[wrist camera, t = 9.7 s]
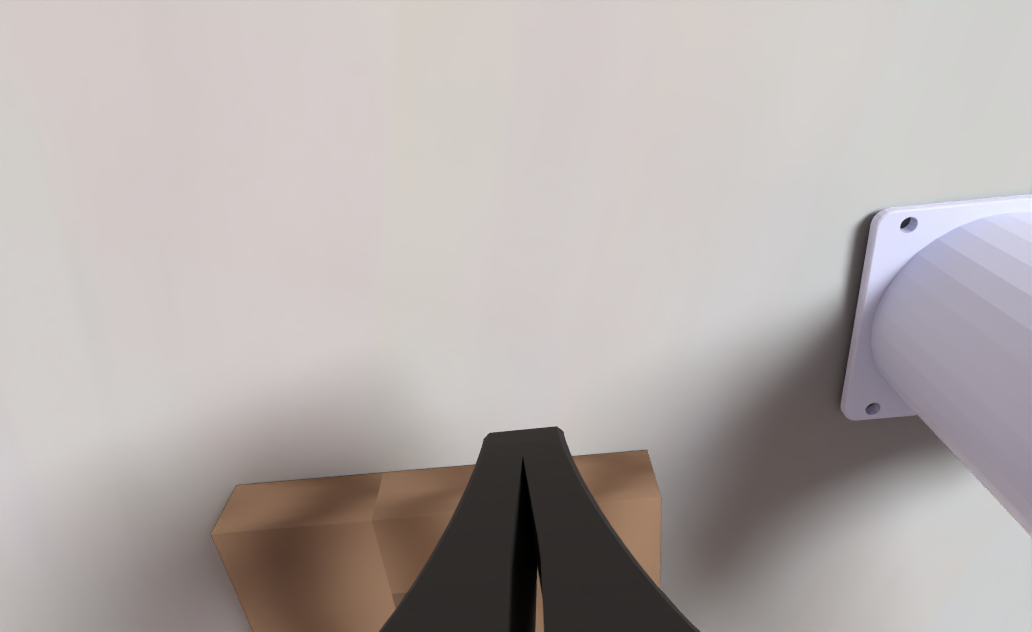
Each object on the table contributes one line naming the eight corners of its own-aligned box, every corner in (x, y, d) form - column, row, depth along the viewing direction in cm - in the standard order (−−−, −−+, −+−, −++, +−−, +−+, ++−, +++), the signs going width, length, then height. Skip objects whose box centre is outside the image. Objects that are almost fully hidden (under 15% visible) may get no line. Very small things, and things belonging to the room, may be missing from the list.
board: (647, 450, 25) (660, 496, 23) (647, 651, 30) (658, 703, 28) (236, 485, 25) (210, 534, 23) (311, 676, 31) (296, 730, 29)
